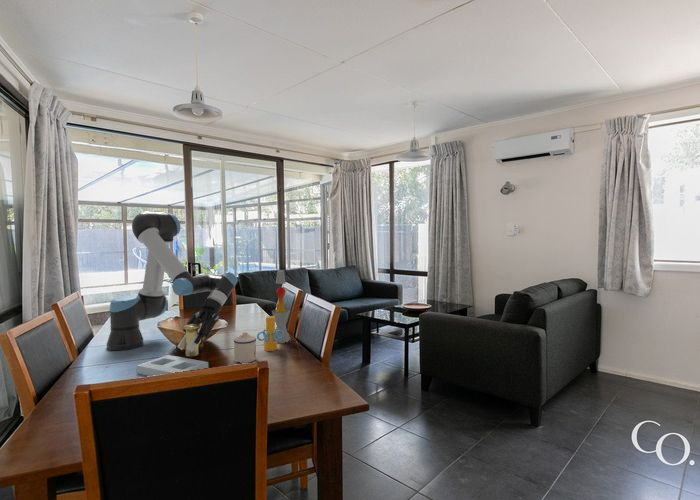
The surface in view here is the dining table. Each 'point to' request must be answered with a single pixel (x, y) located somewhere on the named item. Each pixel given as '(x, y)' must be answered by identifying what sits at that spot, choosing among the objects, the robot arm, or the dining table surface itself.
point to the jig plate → (170, 365)
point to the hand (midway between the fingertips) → (184, 349)
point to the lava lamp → (281, 310)
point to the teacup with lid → (245, 348)
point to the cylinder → (270, 334)
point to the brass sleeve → (191, 338)
